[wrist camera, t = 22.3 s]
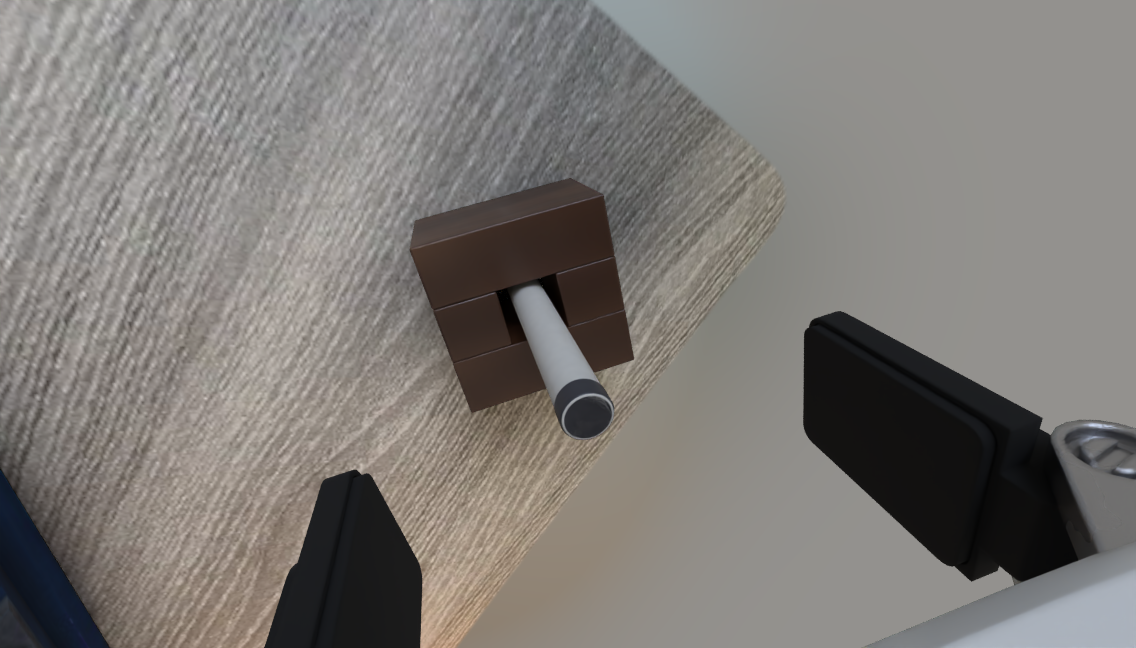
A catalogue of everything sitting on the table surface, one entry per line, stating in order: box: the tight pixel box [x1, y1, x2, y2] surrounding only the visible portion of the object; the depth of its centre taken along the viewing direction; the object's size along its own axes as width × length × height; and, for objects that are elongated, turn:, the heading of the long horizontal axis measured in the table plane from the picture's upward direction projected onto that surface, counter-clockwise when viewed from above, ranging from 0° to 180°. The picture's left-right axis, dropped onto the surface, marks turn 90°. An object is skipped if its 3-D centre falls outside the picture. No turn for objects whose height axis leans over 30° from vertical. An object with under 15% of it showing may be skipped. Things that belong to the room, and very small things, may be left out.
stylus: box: [507, 279, 614, 440], centre depth 18 cm, size 1×1×13 cm
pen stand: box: [410, 178, 634, 413], centre depth 22 cm, size 7×7×5 cm
